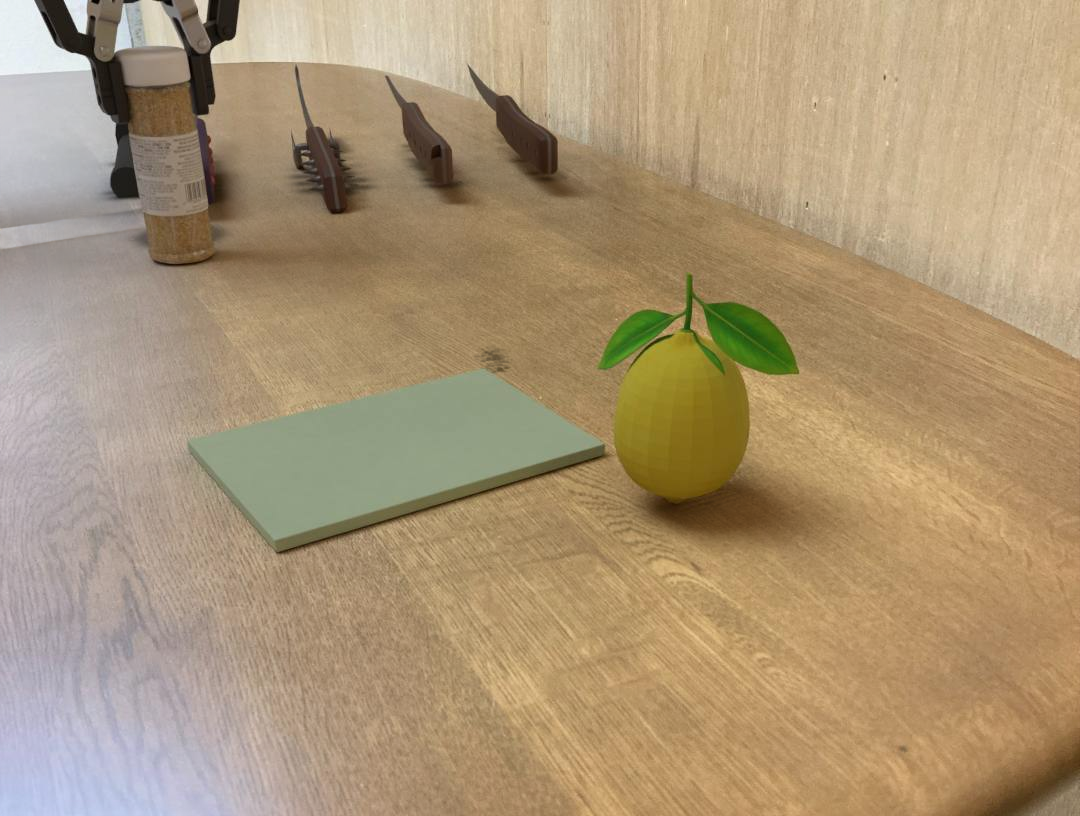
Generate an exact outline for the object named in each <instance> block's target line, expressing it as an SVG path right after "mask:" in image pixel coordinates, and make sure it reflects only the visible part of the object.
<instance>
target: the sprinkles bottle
mask: <svg viewBox="0 0 1080 816" xmlns="http://www.w3.org/2000/svg"><path fill="white" fill-rule="evenodd" d="M114 59H115V61H118V62H120V67H121V72H122V78H123V84H124V89H125V95H126V101H127V106H128V112H129V118H130V122H129V123H128V129H129V139H130V145H131V151H132V156H133V162H134V169H135V174H136V180H137V186H138V191H139V203H140V207H141V211H142V212H143V218H144V224H145V230H146V233H147V234H146V235H147V241H148V246H149V248H148V255H149V257H150V258H151V259H152V260H153V261H156V262H159V263H163V264H169V265H180V264H191V263H197V262H203V261H204V260H208V259H209V258H210V257H212V256H213V255H214V254H215V252H216V245H215V243H214V242H213V237H212V229H211V223H210V217H209V211H208V210H209V209H208V208H209V205H208V199H207V192H206V185H205V178H204V171H203V165H202V158H201V151H200V145H199V138H198V132H197V129H196V126H195V119H194V113H193V106H192V101H191V95H190V85H191V84H190V82H188V81H189V79H190V78H191V75H190V69H189V62H188V57H187V53H186V51H185V50H184V48H182V47H179V46H173V45H143V46H142V45H141V46H133V47H127V48H122V49H118V50H116V51H115V52H114Z"/></svg>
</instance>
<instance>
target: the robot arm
mask: <svg viewBox="0 0 1080 816" xmlns="http://www.w3.org/2000/svg"><path fill="white" fill-rule="evenodd" d="M33 1H34V3H35V5H36V7H37V10H38V12H39V13H40V15H41V17H42V20H43V22H44V25H45V26H46V29H47V30H48V32H49V35H50V37H51V39H52V41H53V43H54V44H55V46H57V48H60V49H62V50H65V51H66V52H68V53H71V54H76V55H81V56H83V57H85V58H86V59H87V60H88V62H89V64H90V69H91V74H92V80H93V86H94V90H95V95H96V96H95V97H96V102H97V105H98V107H99V108H100V110H101V112H102V113H103V114H105V115H107V116H109V117H110V120H111V121H112V122H113V123H115V125H116V124H126V123H129V122H130V118H129V112H128V106H127V101H126V95H125V89H124V84H123V78H122V72H121V67H120V62H118V61H115V59H114V53H115V52H116V51H115V50H116V43H117V35H118V27H119V25H120V24H121V20H122V15H123V9H124V8H123V7H124V4H125V5H126V4H134V3H138V2H139V1H140V2H141V0H87V2H86V16H87V20H86V27H85V33H83V32H80V31H79V30H78V28H77V25H76V23H75V21H74V19H73V17H72V15H71V13H70V10H69V8H68V6H67V4H66V1H65V0H33ZM153 2H159V3H160V4H161V6H162V8H163V11H164V12H165V14H166V15H167V16H168V18H169V19H170V22H171V24H172V26H173V28H174V31H175V32H176V35H177V37H178V39H179V41H180V43H181V45H182V47H183V49H184V50H185V51H186V53H187V57H188V62H189V69H190V75H191V78H190V79H189V81H188V82H190V84H191V85H190V95H191V101H192V106H193V113H194V114H195V115H197V116H198V117H199V116H207V115H209V114H210V107H209V106H213V105H215V102H216V88H215V82H214V75H213V74H214V73H213V66H212V59H211V53H212V51H213V49H214V48H215V47H217V46H218V45H220V44H222V43H224V42H231V41H232V40H234V38H235V37H236V36H237V28H238V19H239V10H240V3H241V0H207V10H206V19H205V22H204V23H203V21H202V19H201V16H200V13H199V7H198V5H197V3H196V0H153Z"/></svg>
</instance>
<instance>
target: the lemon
mask: <svg viewBox="0 0 1080 816" xmlns="http://www.w3.org/2000/svg"><path fill="white" fill-rule="evenodd" d="M693 279H694V277H693V275H692V274H691V273H686V288H685V289H686V290H685V291H686V293H685V294H686V296H685V297H686V299H685V300H686V302H685V305H686V306H685V309H684V310H683V311H682V312H680V313H677V314H675V315H674V314H671V313H667V312H663V311H659V310H656V309H642V310H639V311H636V312H634V313H632V314H630V315H629V316H628V317H627V318H626V319H625V320H624V321H623V322H622V323H621V324H619V325H618V326H617V329H616V330H615V331H614V333H613V334H612V335H611V337H610V339H609V341H608V342H607V344H606V347H605V349H604V351H603V354H602V356H601V359H600V361H599V363H598V366H597V370H604V371H605V370H609V369H611V368H613V367H616V366H617V365H619V364H620V363H622V362H624V361H625V360H626V359H627V358H629V357H631V356H632V355H633V354H634V353H636V352H637V351H639V350H640V349H641V348H643V347H644V346H645V347H644V348H643V349H642V350H641V351H640V352H639V353H638V354H637V355H636V357H635V359H634V360H633V361H632V363H631V364H630V366H629V368H628V369H627V371H626V373H625V374H624V377H623V379H622V382H621V385H620V388H619V392H618V396H617V401H616V408H615V413H614V421H613V441H614V442H613V444H614V447H615V453H616V456H617V458H618V460H619V462H620V464H621V466H622V468H623V470H624V471H625V473H626V474H627V476H628V477H629V478H630V480H631V481H632V482H633V483H634V484H636V485H637V486H639V487H640V488H641V489H643V490H645V491H647V492H649V493H650V494H654V495H656V496H658V497H662V498H665V500H666V501H667V502H669V503H671V504H677V505H679V504H681V503H683V502H684V501H686V500H687V499H688V500H689V499H695V498H699V497H701V496H705V495H708V494H711V493H713V492H715V491H717V490H719V489H720V488H722V487H724V486H725V485H726V484H727V483H728V482H729V481H730V480H731V479H732V477H733V476H734V475H735V473H736V471H737V470H738V468H739V466H740V465H741V463H742V462H743V458H744V457H745V453H746V451H747V447H748V443H749V438H750V430H751V429H750V427H751V422H750V419H751V418H750V404H749V403H750V402H749V395H748V390H747V385H746V383H745V378H744V377H743V374H742V372H741V370H740V368H739V366H738V364H739V365H741V366H744V368H747V369H749V370H750V369H751V370H752V371H756V372H758V373H762V374H765V375H773V376H785V375H800V370H799V368H798V363H797V360H796V356H795V354H794V352H793V350H792V347H791V346H790V343H789V342H788V340H787V338H786V336H785V335H784V334H783V333H782V331H781V330H780V329H779V328H778V326H777V325H776V324H775V323H773V321H771V320H770V319H769V318H768V317H767V316H766V315H765V314H763V312H761V311H758V310H756V309H754V308H752V307H750V306H748V305H745V304H742V303H738V302H733V301H725V302H709V303H708V302H704V301H703V300H701V299H700V298H699V297H698V296H697V295H696V294H695V292H694V289H693V288H694V287H693V281H694V280H693ZM693 300H695V301H696V302H697V303H698V304H699V305H700V306H701V308H702V310H703V314H704V317H705V322H706V326H707V329H708V333H709V334H710V337H711V338H708V337H705V336H702V335H700V334H699V333H698V332H697V330H695V329H693V328H691V324H692V316H693ZM684 315H685V318H684V324H683V327H681V328H679V329H677V330H676V332H675V333H671V334H667V335H663V336H660V337H658V336H659V335H660V334H661V333H662V332H664V331H665V330H666V329H667V328H668V327H670V325H671V324H672V323H673V322H675V321H676V320H678V319H680V318H681V317H683V316H684ZM656 337H657V338H656ZM652 340H653V341H652ZM651 341H652V342H651ZM647 344H648V345H647Z"/></svg>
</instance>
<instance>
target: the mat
mask: <svg viewBox="0 0 1080 816" xmlns="http://www.w3.org/2000/svg"><path fill="white" fill-rule="evenodd" d="M186 444H187V450H188V452H189V453H190V455H192V456H193V457H194V458H195V460H196V461H197V462H198V463H199V464H200V466H201V467H202V468H203V470H205V471H206V473H207V474H208V475H209V476H210V477H211V478H212V480H213V481H214V482H215V483H216V484H217V485H218V486H219V487H220V489H221V490H222V491H223V492H224V493H225V495H226V496H227V497H228V498H229V499H230V500H231V501H232V503H233V504H234V505H235V506H236V507H237V508H238V509H239V511H240V512H241V513H242V515H244V517H245V518H246V519H247V520H248V521H249V522H250V524H251V525H252V526H253V527H254V528H255V529H256V530H257V531H258V533H259V534H260V535H261V536H262V538H263V539H264V540H265V541H266V542H267V543H268V544H269V545H270V546H271V547H272V549H273V551H275V552H276V553H280V552H283V551H287V550H289V549H294V548H296V547H300V546H304V545H307V544H310V543H314V542H316V541H321V540H324V539H327V538H330V537H333V536H337V535H340V534H341V535H342V534H344V533H347V532H351V531H354V530H357V529H360V528H364V527H367V526H370V525H373V524H377V523H380V522H384V521H387V520H391V519H394V518H397V517H402V516H404V515H407V514H411V513H415V512H418V511H421V510H425V509H427V508H430V507H434V506H437V505H441V504H444V503H447V502H451V501H454V500H458V499H461V498H465V497H468V496H470V495H475V494H478V493H481V492H484V491H489V490H491V489H494V488H497V487H501V486H505V485H508V484H511V483H515V482H518V481H522V480H525V479H529V478H532V477H535V476H539V475H541V474H546V473H548V472H551V471H555V470H558V469H561V468H565V467H569V466H573V465H575V464H579V463H582V462H586V461H589V460H592V459H595V458H598V457H602V456H604V455H605V453H606V444H605V442H603V441H601V440H599V439H598V438H597V437H595V436H594V435H591V434H590V433H589V432H587V431H586V430H584V429H582V428H581V427H579V426H577V425H576V424H574V423H573V422H571V421H569V420H567V419H566V418H565V417H563V416H561V415H560V414H558V413H557V412H555V411H553V410H552V409H550V408H549V407H547V406H545V405H544V404H542V403H540V402H539V401H538V400H536V399H534V398H533V397H531V396H529V395H528V394H527V393H525V392H523V391H522V390H519V389H518V388H516V387H515V386H513V385H512V384H510V383H508V382H507V381H505V380H503V378H500V377H499V376H498V375H497V374H494V373H493V372H491V371H489V370H487V369H486V368H479V369H475V370H470V371H467V372H462V373H459V374H454V375H451V376H446V377H442V378H436V379H433V380H429V381H425V382H421V383H417V384H412V385H409V386H405V387H400V388H395V389H392V390H391V389H390V390H387V391H384V392H378V393H375V394H371V395H367V396H362V397H359V398H353V399H350V400H347V401H341V402H338V403H334V404H330V405H325V406H321V407H317V408H312V409H309V410H305V411H299V412H295V413H292V414H288V415H287V414H286V415H284V416H280V417H279V416H278V417H275V418H271V419H267V420H262V421H259V422H254V423H250V424H246V425H242V426H238V427H234V428H229V429H225V430H222V431H217V432H213V433H209V434H205V435H200V436H196V437H191V438H188V439H186Z"/></svg>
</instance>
